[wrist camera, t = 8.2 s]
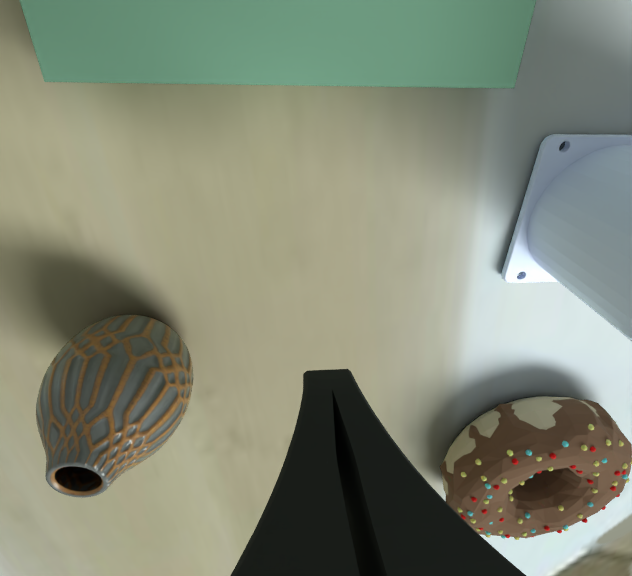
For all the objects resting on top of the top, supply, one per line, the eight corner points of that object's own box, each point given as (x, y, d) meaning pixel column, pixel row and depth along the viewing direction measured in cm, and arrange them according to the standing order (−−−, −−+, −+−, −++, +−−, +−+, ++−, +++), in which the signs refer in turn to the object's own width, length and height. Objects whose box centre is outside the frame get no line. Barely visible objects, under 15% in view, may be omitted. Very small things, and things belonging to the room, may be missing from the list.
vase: (59, 306, 21) (-62, 441, 14) (180, 285, 21) (125, 411, 14) (112, 392, 25) (38, 537, 17) (216, 375, 25) (187, 513, 17)
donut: (426, 402, 28) (453, 465, 24) (615, 365, 27) (677, 422, 23) (434, 507, 35) (455, 569, 31) (583, 479, 35) (625, 538, 31)
